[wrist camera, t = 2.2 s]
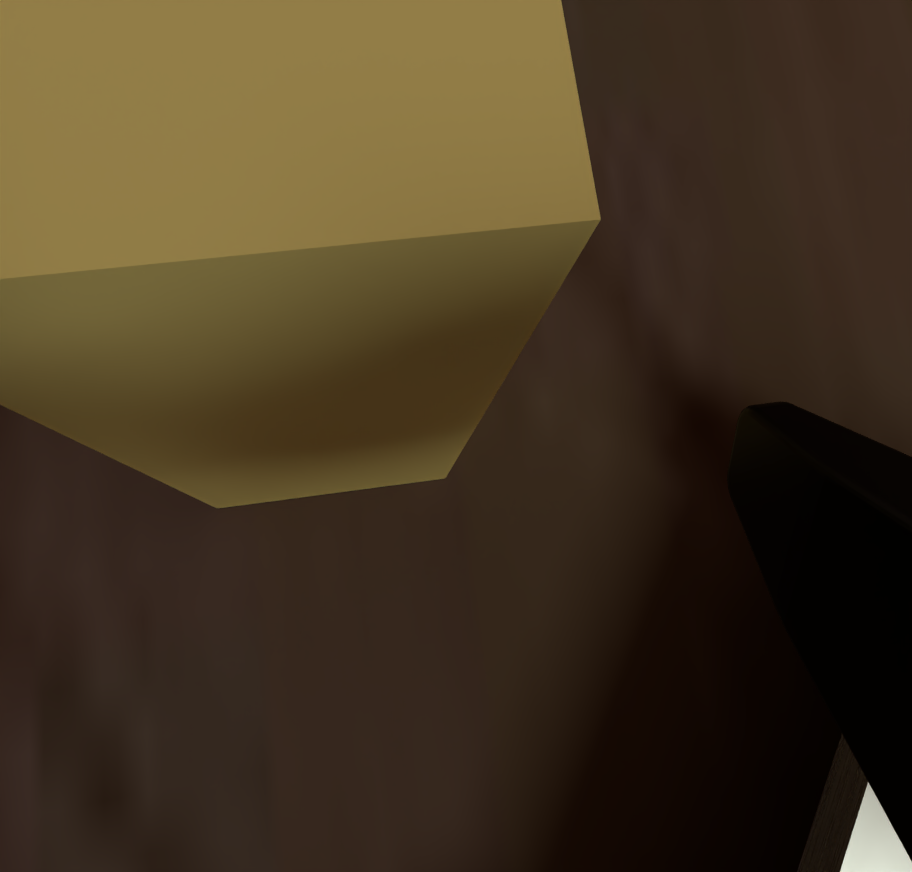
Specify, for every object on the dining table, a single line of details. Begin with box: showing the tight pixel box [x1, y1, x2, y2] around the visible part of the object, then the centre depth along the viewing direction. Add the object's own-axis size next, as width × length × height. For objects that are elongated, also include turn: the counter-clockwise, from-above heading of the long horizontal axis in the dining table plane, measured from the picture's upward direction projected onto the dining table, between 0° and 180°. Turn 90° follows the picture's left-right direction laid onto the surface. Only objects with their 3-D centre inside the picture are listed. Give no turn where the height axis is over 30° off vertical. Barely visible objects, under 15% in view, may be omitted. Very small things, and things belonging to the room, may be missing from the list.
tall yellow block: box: [0, 0, 601, 508], centre depth 12 cm, size 5×5×14 cm
